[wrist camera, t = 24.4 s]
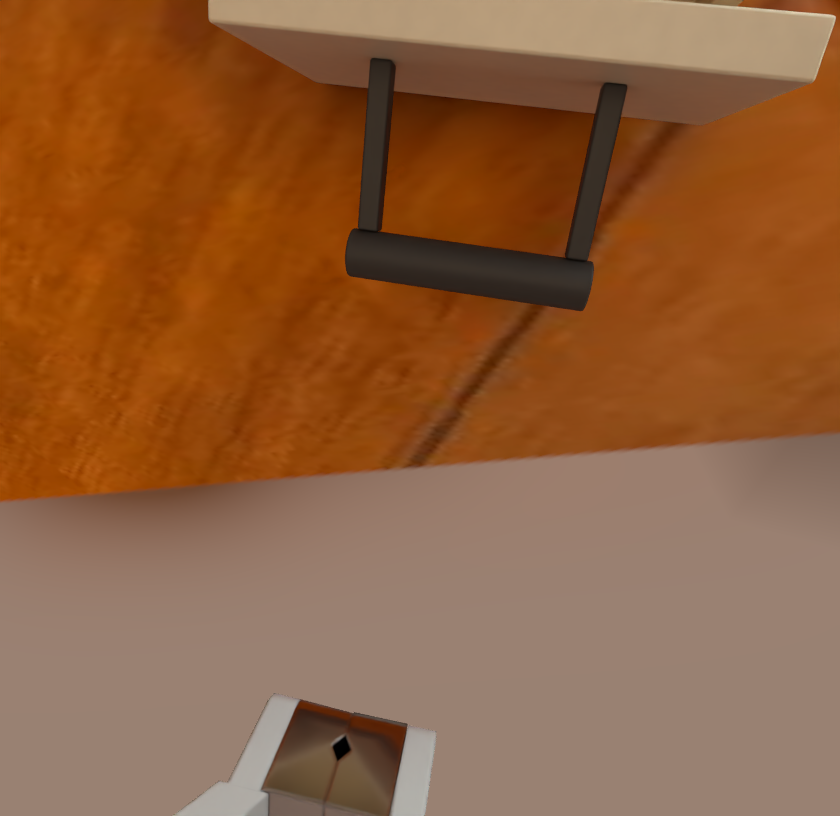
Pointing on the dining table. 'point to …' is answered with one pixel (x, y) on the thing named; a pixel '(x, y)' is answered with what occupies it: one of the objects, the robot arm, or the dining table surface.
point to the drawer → (528, 96)
